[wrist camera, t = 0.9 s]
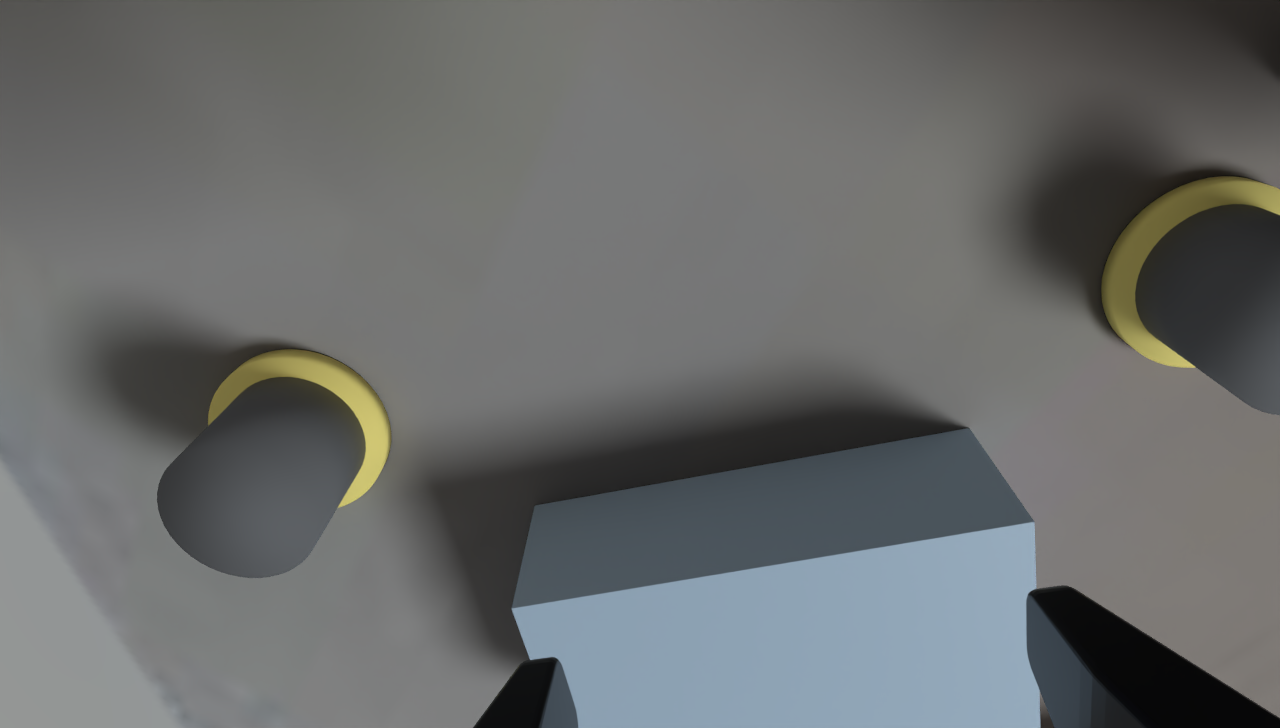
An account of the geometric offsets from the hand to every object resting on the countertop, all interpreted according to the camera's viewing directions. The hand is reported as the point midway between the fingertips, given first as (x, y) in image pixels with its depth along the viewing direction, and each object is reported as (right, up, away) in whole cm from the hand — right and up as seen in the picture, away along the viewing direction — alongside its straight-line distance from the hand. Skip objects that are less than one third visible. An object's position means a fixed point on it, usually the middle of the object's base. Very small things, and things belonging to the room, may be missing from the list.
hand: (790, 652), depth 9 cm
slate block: (+2, -3, +15) cm, 16 cm away
